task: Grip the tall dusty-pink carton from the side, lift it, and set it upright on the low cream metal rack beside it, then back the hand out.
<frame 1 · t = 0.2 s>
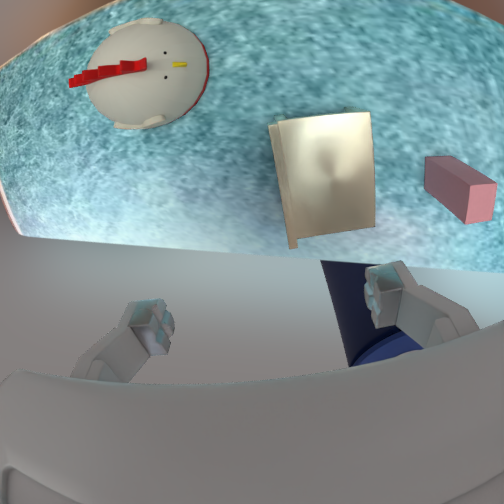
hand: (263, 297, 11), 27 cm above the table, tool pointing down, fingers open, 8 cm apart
pink carton: (437, 172, 34), on the table
kitchen timer: (154, 73, 29), on the table
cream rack: (321, 162, 35), on the table
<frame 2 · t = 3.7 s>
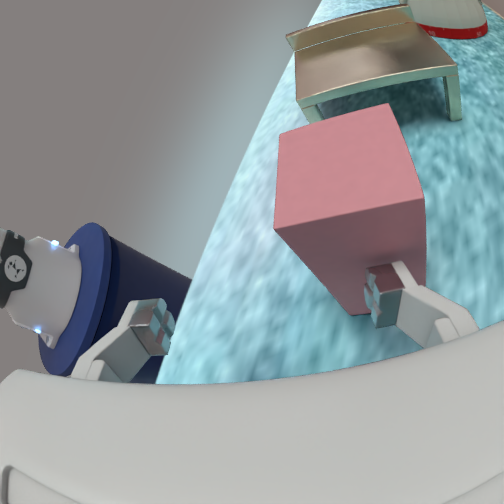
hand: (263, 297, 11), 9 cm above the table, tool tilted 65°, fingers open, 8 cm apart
pink carton: (384, 274, 17), on the table
kitchen timer: (446, 22, 23), on the table
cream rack: (382, 100, 23), on the table
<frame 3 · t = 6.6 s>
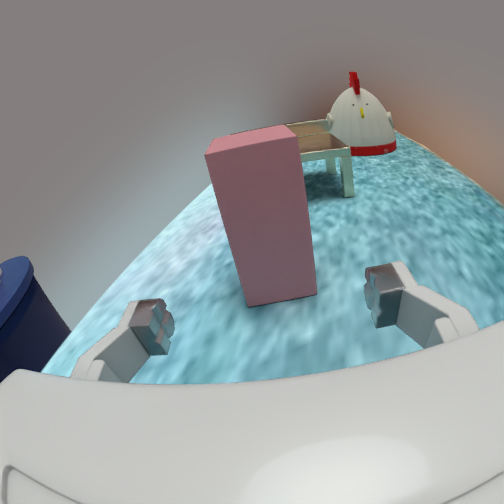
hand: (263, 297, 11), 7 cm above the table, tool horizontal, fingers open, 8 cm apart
pink carton: (279, 279, 22), on the table
kitchen timer: (362, 147, 50), on the table
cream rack: (292, 190, 37), on the table
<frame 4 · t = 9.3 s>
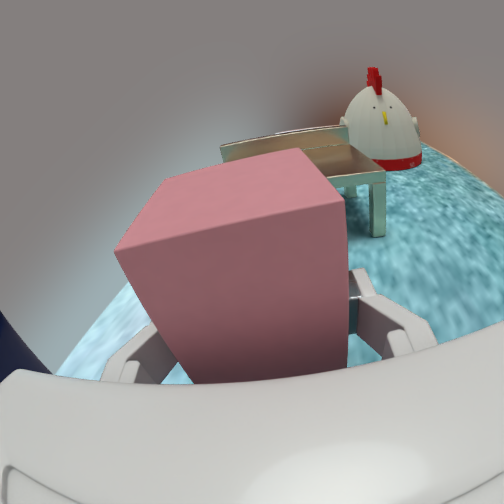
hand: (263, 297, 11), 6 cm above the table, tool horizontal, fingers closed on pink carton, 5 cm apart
pink carton: (285, 392, 13), on the table, touching gripper
kitchen timer: (381, 158, 41), on the table
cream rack: (301, 221, 28), on the table
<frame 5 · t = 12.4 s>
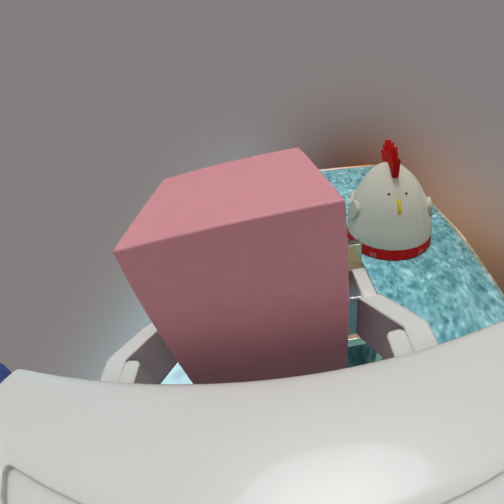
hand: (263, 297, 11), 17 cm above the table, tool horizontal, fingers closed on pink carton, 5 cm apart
pink carton: (284, 392, 13), point 11 cm above the table, touching gripper
kitchen timer: (389, 235, 42), on the table
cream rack: (307, 344, 29), on the table
when the fingers open (12 cm above the table, at t = 15.8 s): pink carton stays where it is, resting on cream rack.
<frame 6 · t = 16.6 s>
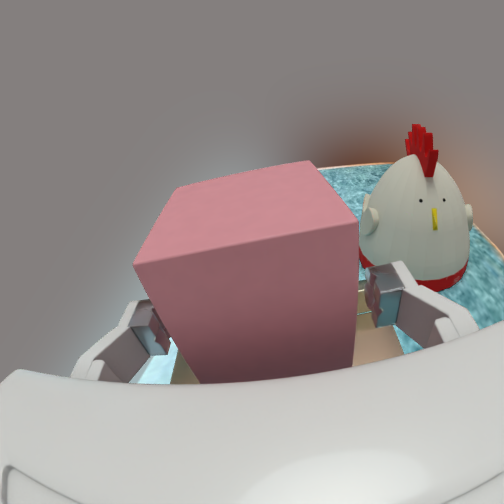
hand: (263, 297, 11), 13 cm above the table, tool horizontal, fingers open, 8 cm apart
pink carton: (288, 395, 14), point 6 cm above the table, touching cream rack
kitchen timer: (413, 255, 30), on the table
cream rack: (295, 430, 17), on the table
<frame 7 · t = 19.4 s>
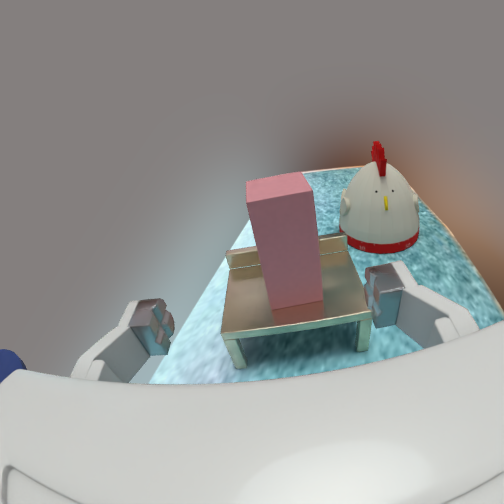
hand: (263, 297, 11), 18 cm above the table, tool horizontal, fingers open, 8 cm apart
pink carton: (293, 288, 29), point 6 cm above the table, touching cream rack
kitchen timer: (379, 231, 45), on the table
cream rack: (298, 327, 32), on the table
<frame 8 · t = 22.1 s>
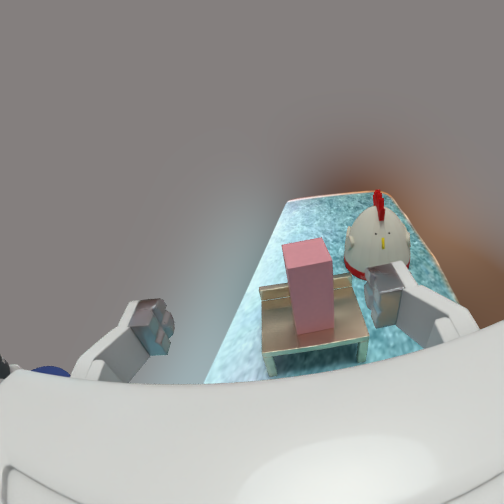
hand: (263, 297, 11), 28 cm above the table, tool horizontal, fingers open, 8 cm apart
pink carton: (312, 318, 38), point 6 cm above the table, touching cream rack
kitchen timer: (377, 260, 55), on the table
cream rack: (313, 344, 41), on the table
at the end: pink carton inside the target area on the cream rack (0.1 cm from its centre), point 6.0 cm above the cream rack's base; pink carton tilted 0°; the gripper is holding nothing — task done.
